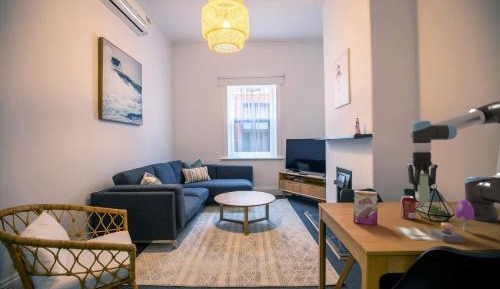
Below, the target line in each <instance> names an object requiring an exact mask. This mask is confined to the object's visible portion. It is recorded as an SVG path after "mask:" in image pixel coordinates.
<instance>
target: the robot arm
mask: <svg viewBox="0 0 500 289" xmlns="http://www.w3.org/2000/svg"><path fill="white" fill-rule="evenodd" d="M488 124H489V125H490V124H497V126H499V127H500V100H498V101H493V102H490V103H488V104H484V105H482V106H479V107H476V108H473V109H471V110H469V111H468V112H467V113H463V114H460V115H459V114H458V115H455V116H453V117H450V118H447V119H443V120H440V121H437V122H433V123H432V122H431V121H430V120H417V121H414V122H413V123H412V128H411V130H410V137H411V139H412V162H411V163H407V164H406V167H407V170H408V173H407V174H408V182H409V184H411V185H413V192H415V193H414V196H415V197H414V198H415V199H416V198H418V199H420V186H419V185H418V183H419V177H420V176H419V174H420V173H425V174H429V176H428V200H430V193H431V192H432V186H433V185H435V184H437V183H436V181H437V180H436V179H437V169H438V167H439V166H438V164H435V163H433V161H432V152H431V151H432V141H443V140H444V141H448V140H454V139H455V138H456V136H457V135H458V131H460V130H463V129H466V128H469V127H473V126H476V127H477V126H482V125H488ZM498 146H499V148H498V157H497V164H496V173H495V174H494V175H492V176H467V177H466V178H465V182H464V194H465V195H464V198H465V199H464V200H467V201H469V202H470V204H471V205H472V207H473V210H474V220H475V221H482V222H487V223H488V222H490V223H495V222H500V215H499V214H498V210H497V209H496V206H495V204H497V205H498V204H499V205H500V145H498Z"/></svg>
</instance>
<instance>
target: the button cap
mask: <svg viewBox="0 0 500 289" xmlns="http://www.w3.org/2000/svg"><path fill="white" fill-rule="evenodd" d="M440 228H442V229H444V233H445V234H450V230H454V224H453V223H450V222H440Z"/></svg>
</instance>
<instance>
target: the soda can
mask: <svg viewBox="0 0 500 289" xmlns="http://www.w3.org/2000/svg"><path fill="white" fill-rule="evenodd" d="M416 208H417V207H416V198H415V197H414V196H412V195H401V198H400V216H401V218H403V219H406V220H414V219H416V217H417V216H416Z"/></svg>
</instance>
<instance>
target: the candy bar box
mask: <svg viewBox="0 0 500 289" xmlns="http://www.w3.org/2000/svg"><path fill="white" fill-rule="evenodd" d="M378 196H379V195H378V192H377V191H367V190H355V189H354V190H353V224H361V225H369V226H375V227H376V226H377V227H378V213H379V212H378V211H379V210H378V208H379V207H378V203H379V202H378V200H379V197H378Z"/></svg>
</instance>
